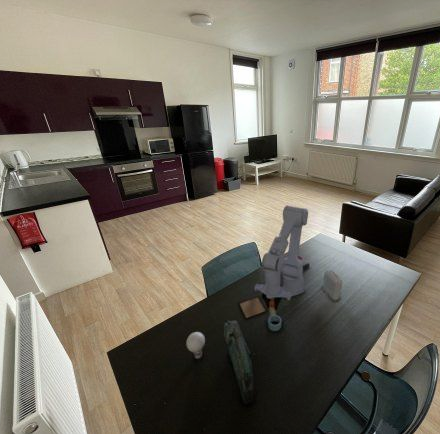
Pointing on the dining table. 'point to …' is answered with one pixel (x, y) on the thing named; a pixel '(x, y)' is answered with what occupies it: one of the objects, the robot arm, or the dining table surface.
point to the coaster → (252, 307)
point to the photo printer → (332, 284)
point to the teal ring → (274, 327)
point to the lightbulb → (196, 343)
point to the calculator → (304, 263)
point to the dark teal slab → (240, 359)
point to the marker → (272, 308)
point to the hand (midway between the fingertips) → (272, 307)
